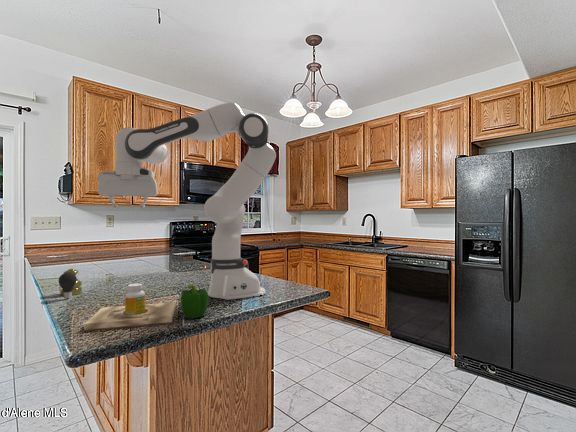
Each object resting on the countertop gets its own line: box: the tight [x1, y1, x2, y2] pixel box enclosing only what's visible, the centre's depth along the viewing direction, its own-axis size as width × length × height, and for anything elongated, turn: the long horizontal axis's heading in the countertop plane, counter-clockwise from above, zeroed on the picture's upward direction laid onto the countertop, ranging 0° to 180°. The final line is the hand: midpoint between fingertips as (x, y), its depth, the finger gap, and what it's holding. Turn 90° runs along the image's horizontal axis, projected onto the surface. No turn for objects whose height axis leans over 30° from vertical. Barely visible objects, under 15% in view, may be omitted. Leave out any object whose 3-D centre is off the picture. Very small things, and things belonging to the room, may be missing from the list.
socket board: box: [83, 301, 177, 332], centre depth 95 cm, size 22×16×2 cm
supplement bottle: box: [124, 283, 146, 316], centre depth 95 cm, size 5×5×10 cm
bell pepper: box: [180, 284, 210, 320], centre depth 97 cm, size 8×8×10 cm
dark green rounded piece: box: [59, 268, 83, 297], centre depth 127 cm, size 7×7×10 cm
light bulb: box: [58, 272, 78, 300], centre depth 119 cm, size 6×6×10 cm
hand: (128, 208), depth 119 cm, fingers open, 8 cm apart
